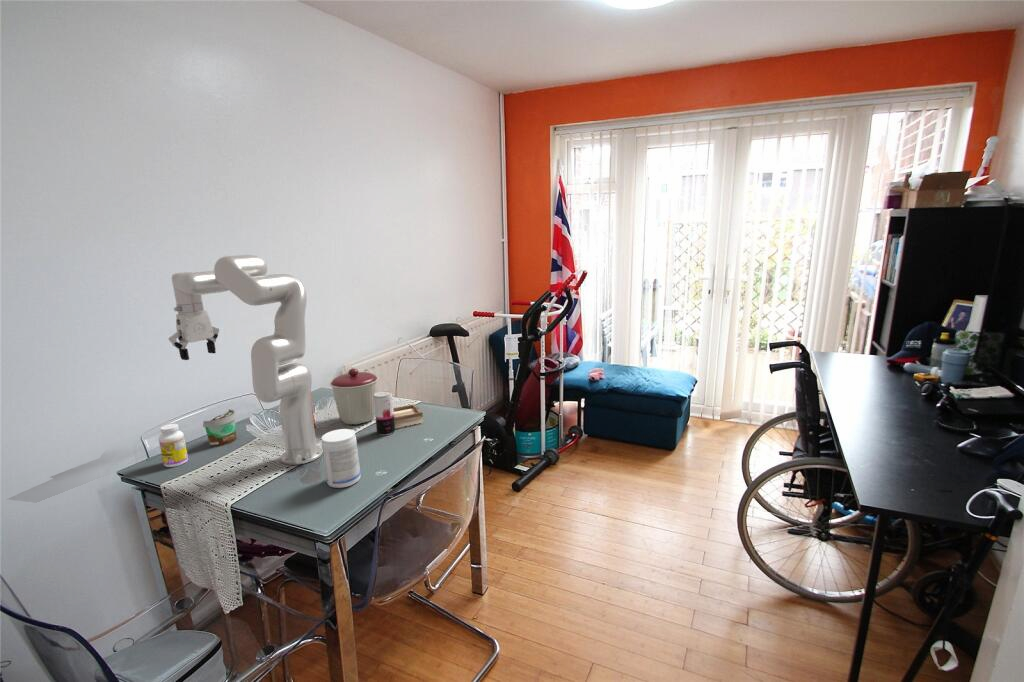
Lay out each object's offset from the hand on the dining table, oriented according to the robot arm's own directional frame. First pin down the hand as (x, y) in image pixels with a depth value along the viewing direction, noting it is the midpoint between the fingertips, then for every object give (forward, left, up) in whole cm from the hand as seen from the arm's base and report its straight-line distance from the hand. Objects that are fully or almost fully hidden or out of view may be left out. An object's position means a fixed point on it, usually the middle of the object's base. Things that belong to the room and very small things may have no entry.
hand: (199, 356), depth 167 cm
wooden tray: (-21, -66, -31) cm, 76 cm away
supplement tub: (-58, -38, -31) cm, 76 cm away
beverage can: (-28, -57, -31) cm, 71 cm away
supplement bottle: (-18, +9, -31) cm, 37 cm away
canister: (-10, -50, -31) cm, 60 cm away
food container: (-7, -5, -31) cm, 32 cm away
